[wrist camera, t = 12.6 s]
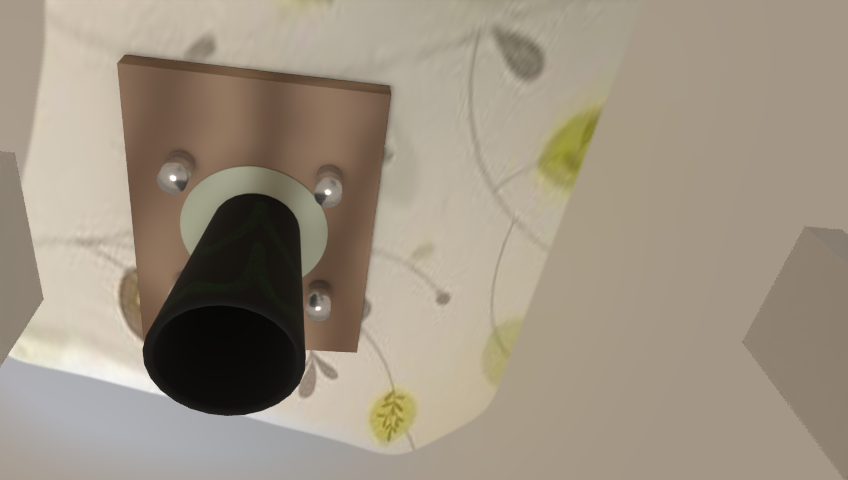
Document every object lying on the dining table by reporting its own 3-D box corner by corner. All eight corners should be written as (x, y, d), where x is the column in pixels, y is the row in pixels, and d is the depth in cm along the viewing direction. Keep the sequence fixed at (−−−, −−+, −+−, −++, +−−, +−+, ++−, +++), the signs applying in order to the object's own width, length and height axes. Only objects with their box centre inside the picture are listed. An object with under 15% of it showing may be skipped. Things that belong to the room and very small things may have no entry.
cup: (335, 257, 43) (330, 390, 33) (231, 294, 44) (195, 434, 34) (284, 160, 39) (259, 278, 29) (170, 202, 40) (108, 331, 30)
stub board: (389, 86, 39) (393, 111, 36) (356, 339, 50) (356, 376, 46) (125, 54, 37) (102, 78, 33) (149, 327, 47) (133, 366, 44)
